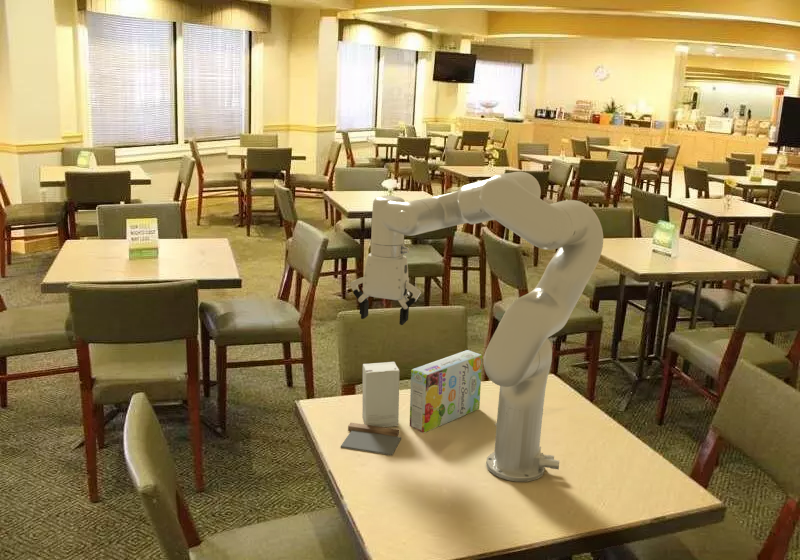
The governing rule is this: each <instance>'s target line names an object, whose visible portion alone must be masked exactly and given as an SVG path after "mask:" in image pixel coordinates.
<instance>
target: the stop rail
mask: <svg viewBox="0 0 800 560" xmlns="http://www.w3.org/2000/svg"><path fill="white" fill-rule="evenodd" d="M352 430H356V431H363V432H370V433H376V434H383V435H390V436H396V437H399V435H400V429H398V428H397V429H396V428H391V427H378V426H371V425H365V423H364V424H363V423H356V422H350V423H349V424H348V426H347V431H349V432H351V431H352Z"/></svg>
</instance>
